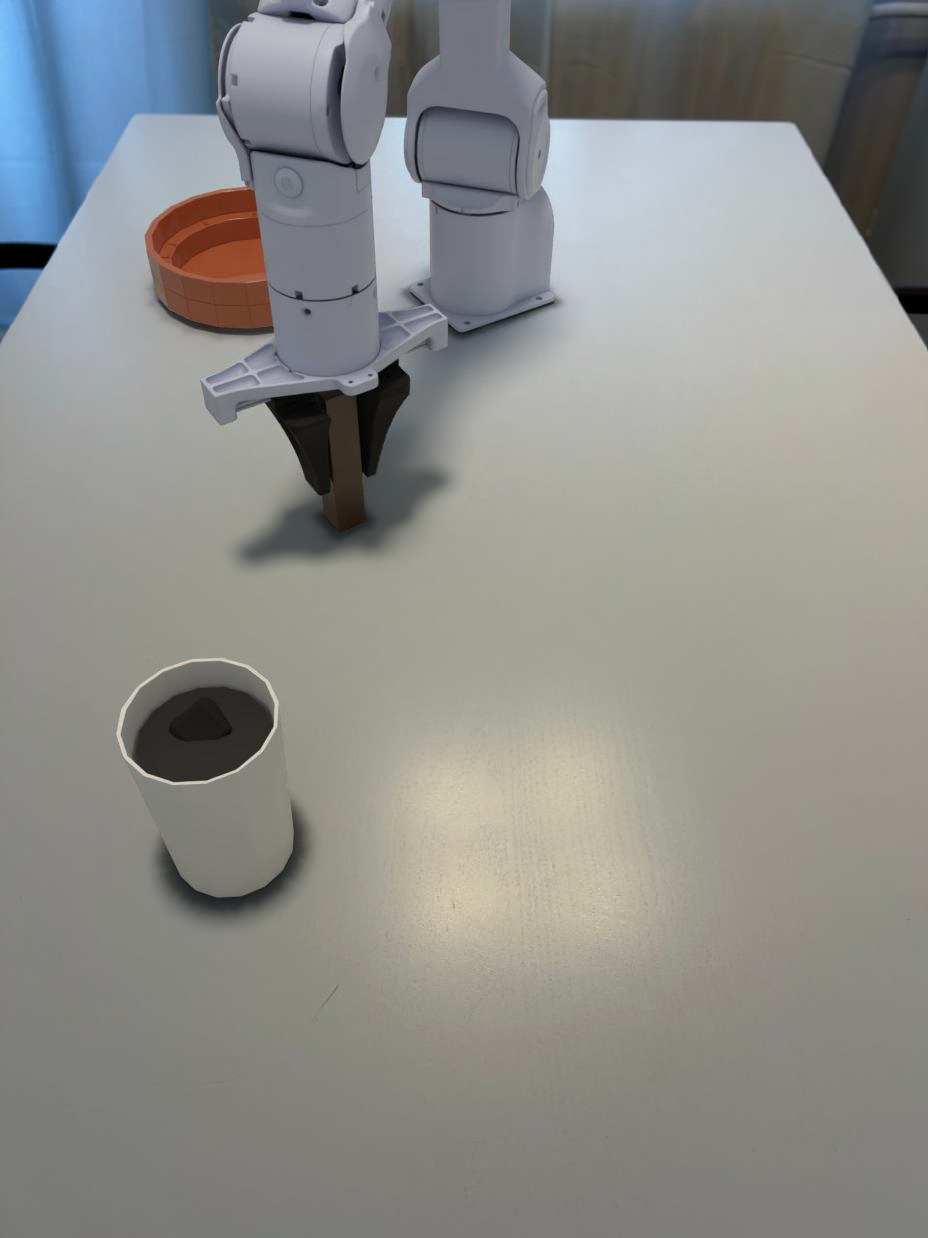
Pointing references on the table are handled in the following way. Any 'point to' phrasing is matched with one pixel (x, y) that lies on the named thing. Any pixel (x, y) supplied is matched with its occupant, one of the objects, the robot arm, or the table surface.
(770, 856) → the table surface
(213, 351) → the table surface
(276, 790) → the white cup
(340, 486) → the stick
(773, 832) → the table surface
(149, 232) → the bowl
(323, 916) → the table surface
